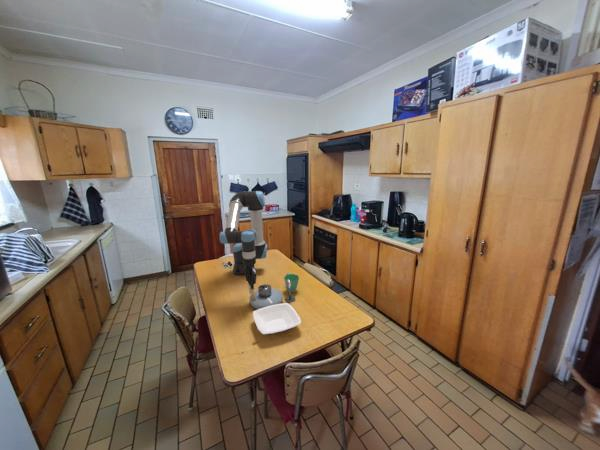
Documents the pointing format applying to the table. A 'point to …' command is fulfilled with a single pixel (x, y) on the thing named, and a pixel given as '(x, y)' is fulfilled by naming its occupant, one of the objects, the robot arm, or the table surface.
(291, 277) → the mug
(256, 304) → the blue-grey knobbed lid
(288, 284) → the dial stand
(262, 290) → the cover
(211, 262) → the table surface
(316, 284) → the table surface
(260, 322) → the bowl
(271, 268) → the table surface
